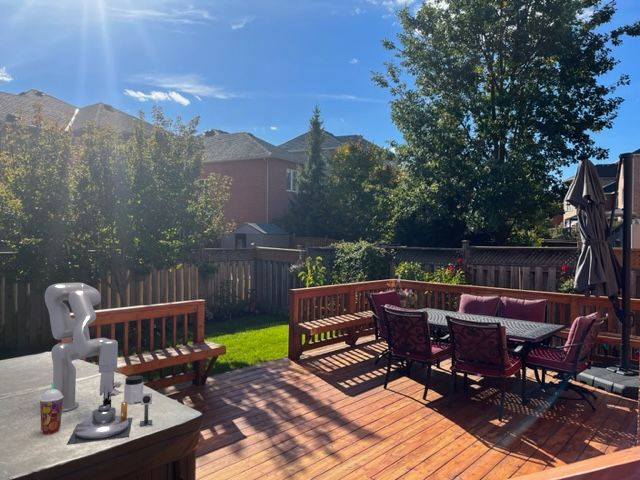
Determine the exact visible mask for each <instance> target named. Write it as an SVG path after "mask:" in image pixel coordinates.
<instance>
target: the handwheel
mask: <svg viewBox="0 0 640 480" xmlns="http://www.w3.org/2000/svg"><path fill="white" fill-rule="evenodd" d="M127 418H128V404H127V402H124V401H123V402H121V405H120V415H116V418H115V420H114V421H112V422H109V423H104V424H94V423H92V418H89V419H86V420H83V421H81V422H79V423H77V424H78V425H77V424H76V425H77V426H75V427H74V429H75V435H76V436H77V437H79V438H84V439H97V438H104V437H109V436H113V435H116V434H118V433H121V432H123V431H124V430H126V429H127V428H128V419H127Z"/></svg>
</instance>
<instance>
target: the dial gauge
mask: <svg viewBox="0 0 640 480" xmlns="http://www.w3.org/2000/svg"><path fill="white" fill-rule="evenodd" d="M136 404H140V405H141V406H144V409H143V411H144V413H143V414H144V416H143V420H140V422H139V427H148V426H147V425H149V426H153V419H149V405H153V393H152V392H149V393H143V394H141V401H139V402H134V404H133V405H136Z"/></svg>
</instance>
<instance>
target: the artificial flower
mask: <svg viewBox="0 0 640 480" xmlns="http://www.w3.org/2000/svg"><path fill="white" fill-rule="evenodd" d="M122 385H123V383H122V382H120V381H114V386H113V391H112V394H114V395H115V396H119V395H120V394H119V393H121V392H119V390H118V389H116V388H120V387H121V386H122ZM112 394H111V395H112Z"/></svg>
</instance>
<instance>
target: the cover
mask: <svg viewBox="0 0 640 480" xmlns="http://www.w3.org/2000/svg"><path fill="white" fill-rule="evenodd" d="M116 409H117V408H115V407H112V406H111V407H110V405H109V404H103V403H102V404H101V405H99V406H98V408H96V409H94V410H93V411H92V413H91V415H92V416H91V419H92V423H94V424H104V423H109V422H112V421H114V420H115V418H116V416H117V414H116V413H117V411H116Z"/></svg>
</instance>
